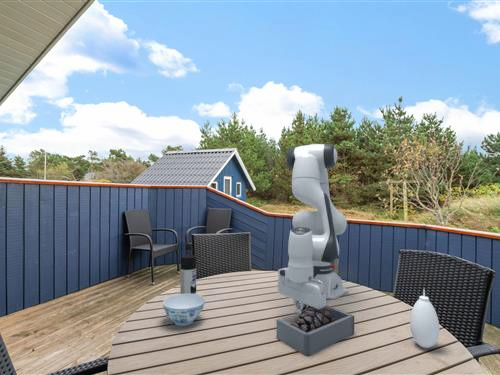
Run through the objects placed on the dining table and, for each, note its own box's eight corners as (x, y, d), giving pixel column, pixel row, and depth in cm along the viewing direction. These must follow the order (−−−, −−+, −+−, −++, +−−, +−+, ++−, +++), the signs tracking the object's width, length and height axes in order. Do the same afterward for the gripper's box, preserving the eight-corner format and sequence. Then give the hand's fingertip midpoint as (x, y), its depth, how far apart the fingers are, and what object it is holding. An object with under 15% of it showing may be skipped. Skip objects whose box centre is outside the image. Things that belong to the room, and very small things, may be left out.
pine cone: (285, 342, 92) (285, 310, 92) (311, 323, 106) (311, 295, 106) (315, 354, 86) (315, 320, 86) (338, 332, 100) (339, 302, 100)
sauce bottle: (444, 354, 86) (443, 293, 86) (415, 352, 87) (415, 291, 88) (432, 341, 94) (432, 285, 94) (406, 339, 95) (406, 283, 95)
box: (323, 319, 109) (323, 303, 109) (354, 333, 99) (354, 315, 99) (276, 338, 95) (276, 319, 95) (307, 356, 85) (307, 335, 85)
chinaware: (181, 310, 117) (181, 291, 117) (212, 318, 110) (212, 297, 110) (153, 325, 103) (153, 303, 103) (187, 335, 97) (187, 311, 97)
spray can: (192, 306, 121) (193, 258, 121) (177, 305, 122) (177, 257, 123) (198, 300, 128) (198, 255, 128) (184, 299, 129) (184, 254, 129)
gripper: (330, 279, 96) (330, 321, 96) (287, 266, 113) (287, 302, 113) (317, 283, 93) (317, 326, 92) (274, 269, 109) (274, 306, 109)
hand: (300, 313), depth 103 cm, fingers closed
